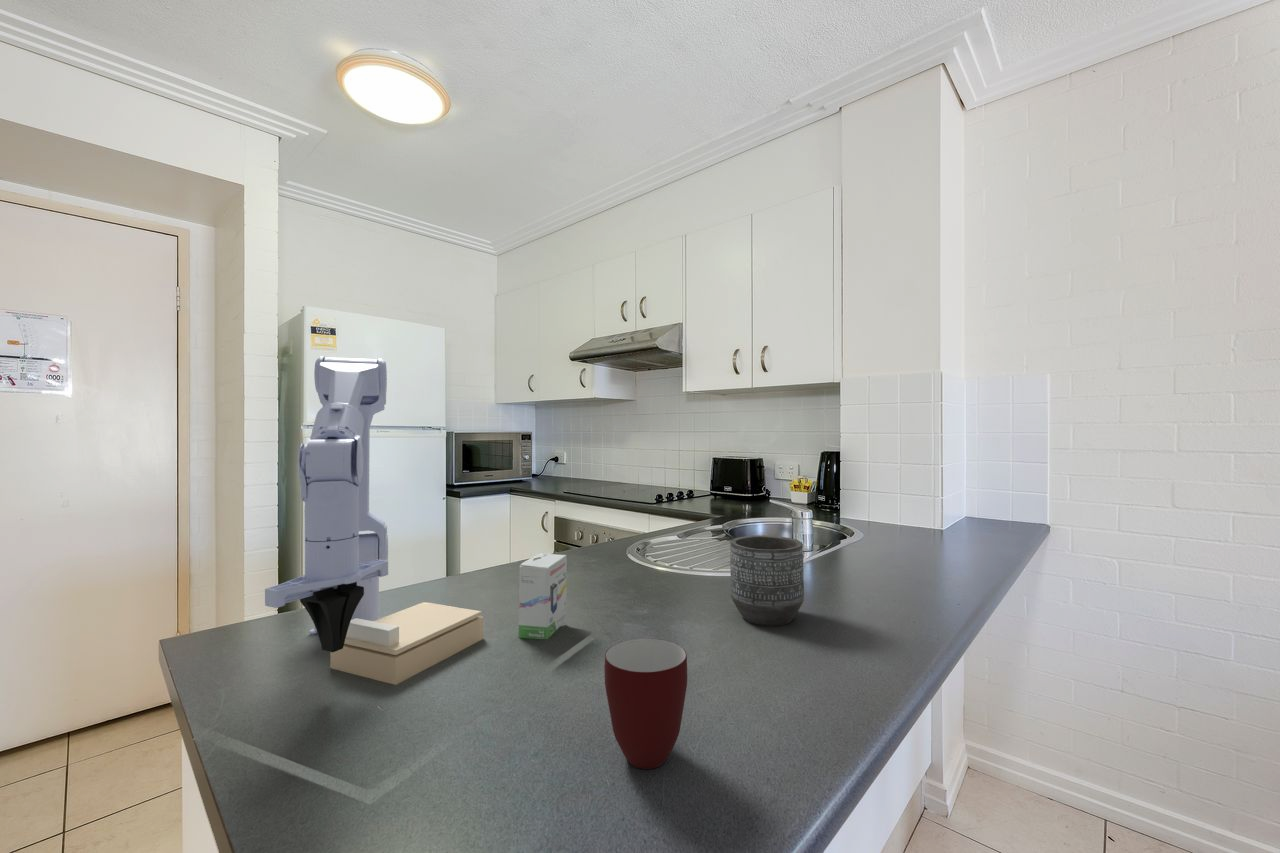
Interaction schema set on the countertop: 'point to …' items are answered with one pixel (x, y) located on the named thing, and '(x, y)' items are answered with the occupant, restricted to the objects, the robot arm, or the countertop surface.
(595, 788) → the countertop surface
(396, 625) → the mailer lid
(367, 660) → the tray
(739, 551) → the planter
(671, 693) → the mug
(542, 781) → the countertop surface
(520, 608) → the ink box
